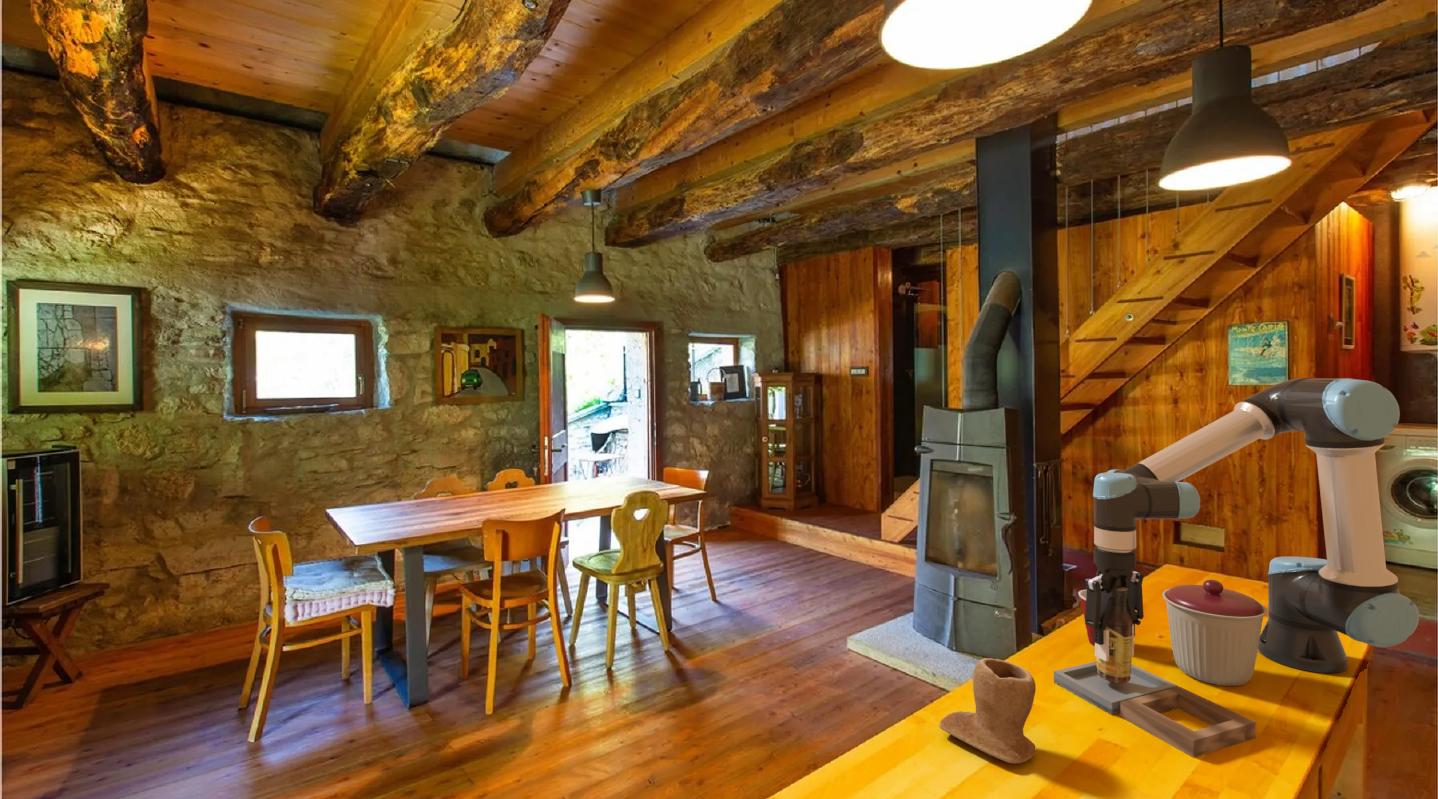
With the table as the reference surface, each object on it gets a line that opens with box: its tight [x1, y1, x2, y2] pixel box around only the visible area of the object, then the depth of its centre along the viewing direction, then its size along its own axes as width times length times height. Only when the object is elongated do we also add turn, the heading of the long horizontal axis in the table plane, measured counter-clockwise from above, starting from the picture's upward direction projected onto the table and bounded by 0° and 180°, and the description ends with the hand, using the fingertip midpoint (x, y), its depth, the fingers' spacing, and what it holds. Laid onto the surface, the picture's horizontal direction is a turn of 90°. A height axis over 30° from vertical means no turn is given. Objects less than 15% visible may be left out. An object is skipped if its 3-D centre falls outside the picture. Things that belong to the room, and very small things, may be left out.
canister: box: [1162, 579, 1268, 687], centre depth 140 cm, size 18×18×21 cm
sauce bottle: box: [1096, 587, 1133, 683], centre depth 135 cm, size 7×6×20 cm
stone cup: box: [938, 657, 1037, 764], centre depth 117 cm, size 15×12×15 cm
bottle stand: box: [1119, 686, 1257, 758], centre depth 121 cm, size 16×14×3 cm
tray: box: [1053, 660, 1179, 716], centre depth 135 cm, size 18×14×2 cm
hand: (1114, 655), depth 135 cm, fingers closed on sauce bottle, 6 cm apart
